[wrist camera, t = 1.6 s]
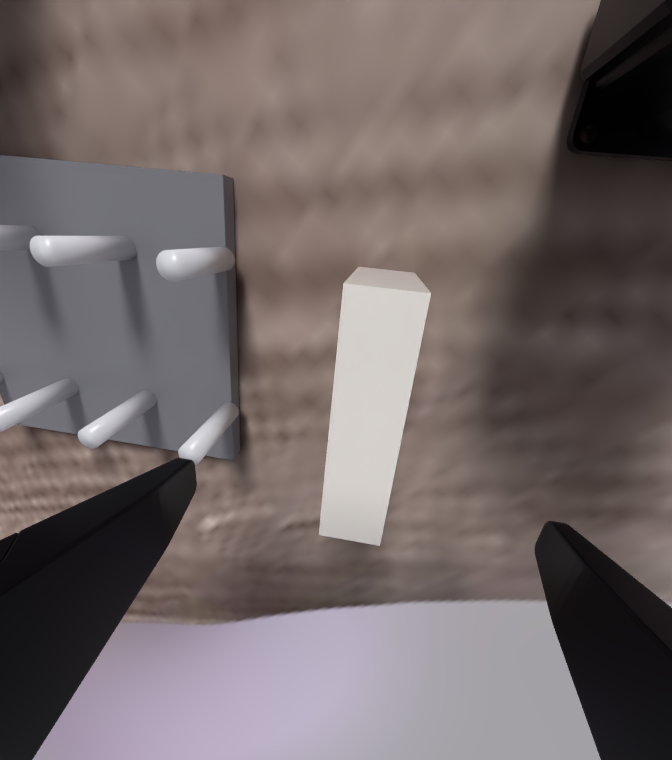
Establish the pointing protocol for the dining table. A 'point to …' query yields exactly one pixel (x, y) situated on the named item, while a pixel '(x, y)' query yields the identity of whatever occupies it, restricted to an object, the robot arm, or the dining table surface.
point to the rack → (119, 305)
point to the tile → (370, 398)
